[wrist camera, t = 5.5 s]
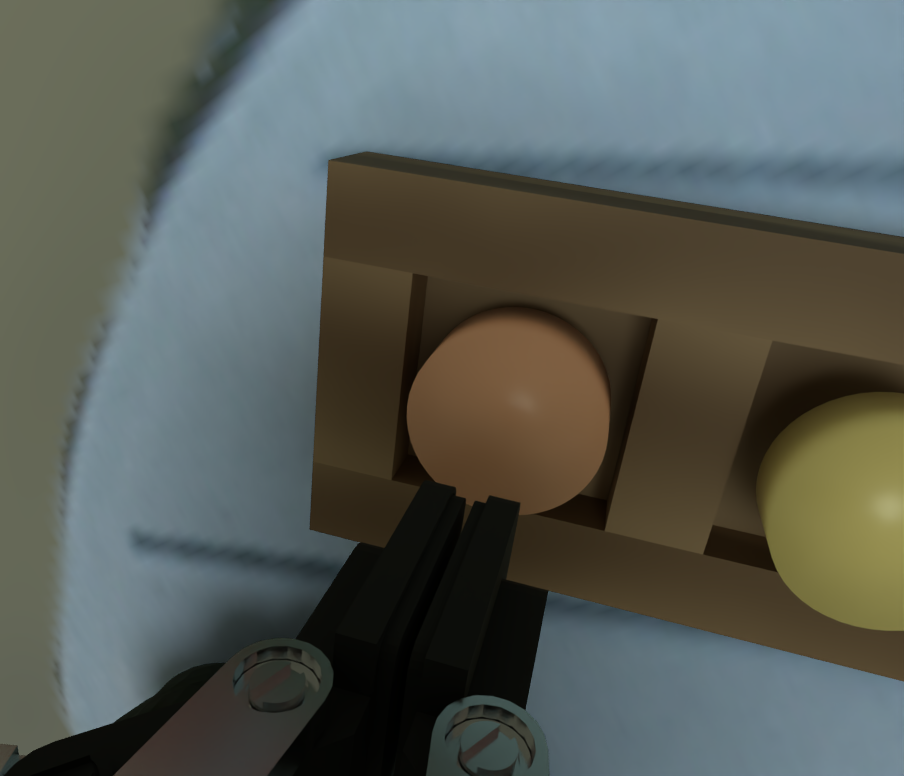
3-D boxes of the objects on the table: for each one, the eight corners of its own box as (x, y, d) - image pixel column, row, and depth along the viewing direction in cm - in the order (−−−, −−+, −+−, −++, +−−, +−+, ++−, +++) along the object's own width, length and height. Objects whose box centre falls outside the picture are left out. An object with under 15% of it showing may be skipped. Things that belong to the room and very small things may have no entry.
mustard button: (940, 599, 16) (973, 655, 15) (731, 549, 17) (741, 598, 15) (1032, 418, 14) (1082, 459, 13) (792, 371, 15) (810, 405, 14)
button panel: (1316, 721, 18) (1411, 811, 16) (342, 485, 22) (309, 529, 20) (1628, 353, 14) (1816, 402, 12) (366, 151, 18) (328, 159, 16)
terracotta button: (589, 496, 18) (585, 535, 17) (418, 456, 19) (398, 489, 18) (630, 327, 17) (629, 353, 15) (438, 290, 17) (417, 311, 16)
